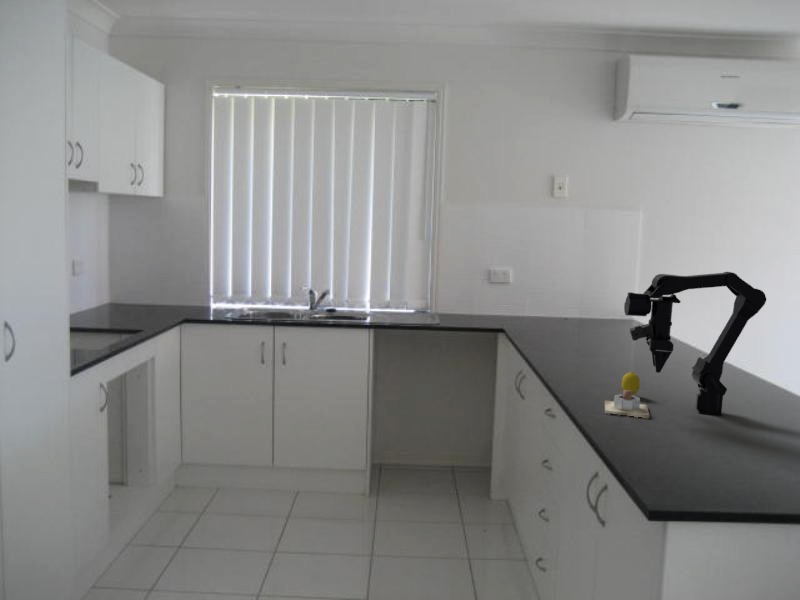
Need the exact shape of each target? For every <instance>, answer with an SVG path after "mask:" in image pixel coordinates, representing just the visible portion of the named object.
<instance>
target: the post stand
mask: <svg viewBox="0 0 800 600" xmlns="http://www.w3.org/2000/svg"><path fill="white" fill-rule="evenodd" d="M622 391H623V390H622ZM622 394H623V399H629V400H631V398H632V396H633V395H632V391H630V390H624V391H623V393H622ZM604 413H613V414H619V415H618V416H620V415H627V416H626V417H629V416H634V417H633V418H638V417H642V418H641V419H648V418H649V419H650V413H649V409H648V405H647V404H644V403H643V404H642V403H640V407H639V410H637V411H626V410H620V409H617V408H614V400H604Z"/></svg>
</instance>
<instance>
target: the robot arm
mask: <svg viewBox="0 0 800 600" xmlns="http://www.w3.org/2000/svg"><path fill="white" fill-rule="evenodd" d="M719 287H726V288H727V289H728V290H729V291H730V292H731V293H732V294H733V295H734V296H735V297H736V298H735V300H734V301H733V302H734V303H733V308H732V309H733V310H732V313H731V315H730V317H729V319H728V321H727V322H726V323H725V326H724V327H723V329H722V331H721V332H720V335H719V336H718V337H717V340H716V341H715V343H714V344H713V347H712V349H711V350H710V352H709V353H708V354H707V355H706V356H705V357H704V358H702V357H700V356H699V357H698V358H697V360H696V363H695V364H694V365H693V366H692V367H691V370H692V373H691V376H692V380H693V381H694V382H695V383H696V384H697V387H698V388H699V389H698V393H697V394H696V396H695V404H694V405H695V406H694V408H696V410H697V412H698V413H699V414H705V415H706V414H707V415H714V416H715V415H716V416H723V415H724V414H723V412H722V411H723V410H722V409H723V398H724V396H725V395H726V393H727V390H728V389H727V387H726V386H725V384H723V382H721V381H720V380H721V377H722V375H723V370H724V363H725V361H726V359H727V357H728V356H729V354H730V352H731V351H732V349H733V347H734V346H735V344H736V342H737V341H738V338H739V337H740V336H741V333H742V332H743V330H744V329H745V327H746V325H747V324H748V322H749V320H751V319H752V318H753V317H754V316H755V315H756V314H757V313H759V312H760V310H761V309H762V308H763V307H764V306H765V305H766V302H767V296H766V294H765V292H764V290H762V289H758V288H754V287H753V286H752V285H751V284H750V283H748V282H746V281H745V280H744V279H742V278H741V277H740V276H739V275H738V274H737V273H735V272H731V271H724V272H717V273H707V274H706V273H705V274H704V273H703V274H693V275H677V274H665V273H659V274H656V275H655V276H654V277H653V278H652V281H651V284H650V286H649V287H648V288H647V289H646V290H645V291H644V292H643V293H636V292H630V291H629V292H627V296H626V298H625V302H624V306H623V308H624V309H623V310H624V314H625V316H627V317H628V316H630V317H633V316H634V317H647V316H648V315H650V319H648V323H645V324H641V325H638V326H633V327H630V328H629V333H630V335H631V336H630V337H631V339H632V341H638V340H639V339H642V338H645V342H646V344H647V345H648V348H649V351H650V353H651V357H652V360H651V361H652V365H653V367H655V372H656V374H657V373H658V374H659V373H661V371H662V369H663V368H664V366H665V365H666V363H667V361H668V359H669V358H670V356H671V354H672V353H673V351H674V346H675V345H674V343H673V341H671V327H672V326H673V322H672V318H673V317H672V316H673V314H672V313H673V305H674V304H680V303H681V300H680V299H679V298H678V297H677V295H676V294H678V293H682V292H684V291H688V290H694V289H695V290H696V289H697V290H698V289H707V288H719Z"/></svg>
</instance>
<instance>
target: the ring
mask: <svg viewBox="0 0 800 600" xmlns="http://www.w3.org/2000/svg"><path fill="white" fill-rule="evenodd" d="M613 401H614V408H617V409H620V410H626V411H637V410H639V407H640V404H641V399H640V397H639V396H635V395H632V398H631V400H629V399H623V393H622V394H621V393H619V394H615V395H614V399H613Z"/></svg>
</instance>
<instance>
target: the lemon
mask: <svg viewBox="0 0 800 600" xmlns="http://www.w3.org/2000/svg"><path fill="white" fill-rule="evenodd" d="M640 385H641V380H640V377H639V376H638V374H637V373H636V372H635V373H634V371H630V372H628V373H626V374H625V375H623V377H622V379H621V389H622V391H624V390H630V391H632V396H634V395H635V394H637V393H638V392H639V390H640V388H641V386H640Z"/></svg>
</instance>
